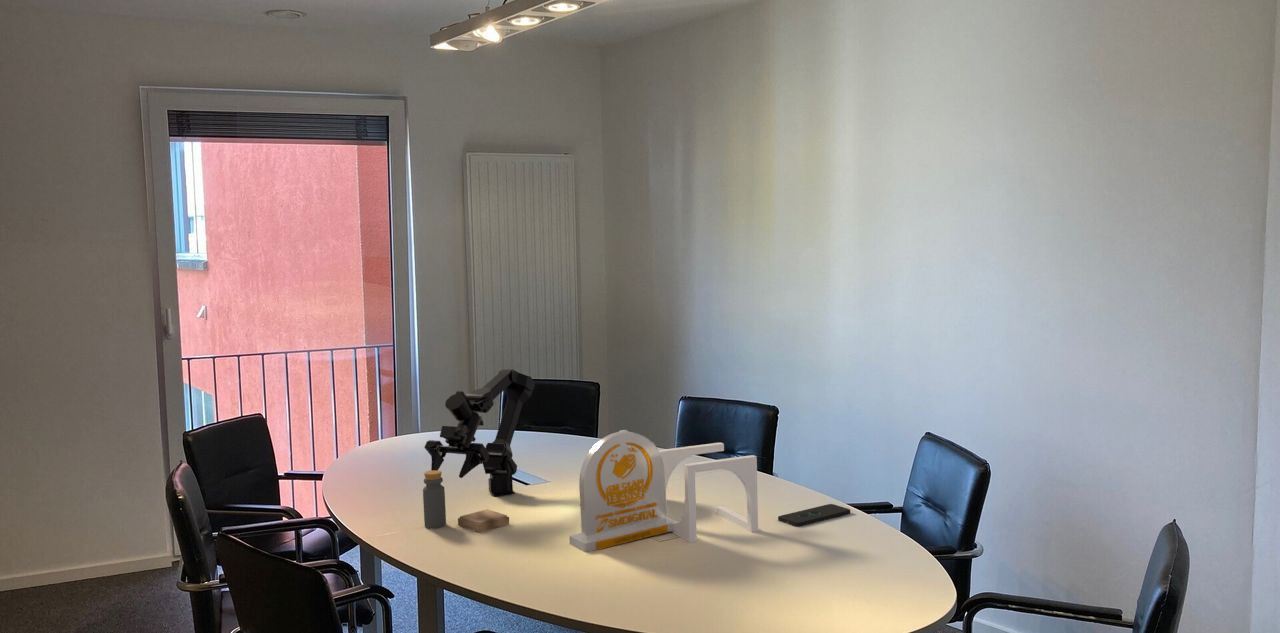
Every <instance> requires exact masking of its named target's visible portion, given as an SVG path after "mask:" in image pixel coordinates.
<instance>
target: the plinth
mask: <svg viewBox="0 0 1280 633" xmlns="http://www.w3.org/2000/svg"><path fill="white" fill-rule="evenodd" d="M458 525H459V527H461V526H462V528H464V527H465V529H467V528H468V530H470V529H471V531H473V530H474V531H473V532H475V533H476V532H477V533H482V532H487V531H491V530H493V529H497V528H500V527H505V526H507V525H510V516H508V515H507V514H504V513H500V512H497V511H494V510H491V509H489V508H486V509H482V510H479V511H475V512H471V513H468V514H464V515H460V516H459V517H458V518H457V526H458Z"/></svg>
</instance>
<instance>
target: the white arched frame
mask: <svg viewBox="0 0 1280 633" xmlns="http://www.w3.org/2000/svg"><path fill="white" fill-rule="evenodd" d="M658 450H659V452H660V454H661V457H662V460H663V464H664V471H665V494H666V495H667V489H668V483H669V480H670V477H671V475H672V473H673V472H674V471H675V469H676V468H677V467H678V465H679V464H680V463H681V462H683V461H685V460H686V459H688V458H691V457H692V456H695V455H702V454H710V453H717V452H718V453H719V452H724V451H725V444H724V443H723V442H721V441H720V442H713V443H712V442H711V443H706V444H699V445H697V444H696V445H688V446H680V447H674V448H665V449H658ZM757 458H758V457H757V456H756V455H755V454H752V455H751V454H750V455H745V456H744V455H742V456H736V457H729V458H719V459H713V460H706V461H705V460H704V461H699V462H698V461H697V462H692V463H685V464H683V465H684V470H683V471H684V508H683V513H682V516H681V518H680V520H679V521H677V522H678V523H677V524H673V526H674V531H671V532H672V533H673V534H675V535H677V536H678V537H680V538H681V539H683V540H684V541H686V542H688V543H689V544H690V543H696V542H697V541H698V540H697V539H698V538H697V537H698V536H697V535H698V534H697V510H696V509H697V502H696V500H697V499H696V495H697V494H696V473H701V472H709V471H716V470H723V471H724V470H725V471H728V472H731V473H732V474H734V475H736V476H737V478H738V479H739V480H740V482H741V483H742V485H743V487H744V491H745V493H746V510H747V514H746V515H747V517H745V516H743V515H742V514H739V513H737V512H735V511H733V510H731V509H730V508H727V507H725V506H724V505H717V506H715V514H717V515H718V516H720V517H722V518H724V519H725V520H728V521H730V522H731V523H733V524H735V525H737V526H739V527H740V528H742V529H744V530H746V531H748V532H750V533H755V532H758V531H759V516H758V514H759V513H758V512H759V508H758V463H757V462H758V461H757V460H758V459H757ZM667 510H668V508H667V505H666V517H668V514H667V513H668V511H667ZM668 518H670V517H668Z"/></svg>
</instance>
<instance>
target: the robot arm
mask: <svg viewBox="0 0 1280 633" xmlns="http://www.w3.org/2000/svg"><path fill="white" fill-rule="evenodd" d="M535 386H536V384H535V381H534V380H533V378H532V376H530V375H526V374H524V373H521V372H519V371H517V370H515V369H511V368H510V369H508V368H507V369H506V368H504V369H503V368H502V369H500V370H499V372H498V373H497V374H496V375H495V376H494V377H493V378H492V379H491V380H489V381H488V382H487V383H486V384H485V385H484V386H483V387H481V388H478V389H474V390H471V391H470V392H468V393H467V394H465V392H464V391H463V390H462V391H461V390H456V392H455V394H452V395H451V396H449V397H448V398H447V399H446V400H445V408H446V409H447V410H448V411H449V413H450V415H451V416H452V417H453V419H455V421H458V422H457V425H456V426H453V425H441V428H440V433H439V438H440V439H441V438H443V439H445V440H444V441H445V443H446V444H448V445H444V444H443V443H442V442H441V441H440V440H434V439H433V440H432V439H429V440H426V442H425V445H424V447H423V448H424V449H425V450H426V451H427V453H428V454H429V455H430V456H431V464H430V465H431V466H430V467H431V468H430V469H431V470H430V471H432V470H438V471H439V470H440V468H441V466H442V464H443V463H444V461H445V459H444V458H445V457H446V455H447V454H457V455H465V459H464V461H463V464H462V466H461V468H460V472H459V474H458V477H459V478H460V479H462V478H464V477H465V476H466V475H467V474H469V473H470V472H471V471H472V470H473V469H475V468H476V467H478V466H479V465H482V466H483V471H484V474H485V475H488V474H489V478H488V480H487V482H488V493H490V494H491V495H492V496H494V497H498V496H506V495H512V494H515V491H514V486H513V483H514V482H513V475H515V474H516V473H517V470H518V465H517V464H516V462H515V460H514V459H513V451H512V447H511V444H512V440H513V438H514V434H515V430H516V427H517V424H518V420H519V418H520V414H521V411H522V408H523V405H524V404H525V403H526V402H527V401H528V400H529V399H530V398H531V396H532V394H533V391H534V389H535ZM504 390H505V394H506V397H507V400H506V403H505V408H504V410H503V414H502V416H501V417H502V418H501V420H500V423H499V426H498V430H497V432H496V435H495V439H494V441H493V442H487V443H486V444H485V445H484V444H483V443H480V442H476V440H477V438H476V437H475V435H476V433H477V430H478V428H479V426H481V427H482V426H484V424H485V423H484V421H483V418H482V417H483V416H480V415H479V413H481V414H487V413H489V411H490V410H491V409H492V407H494V403H495V402H494V400H495V399H497V397H498V396H499V395H500V394H501V393H502V392H504Z"/></svg>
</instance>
